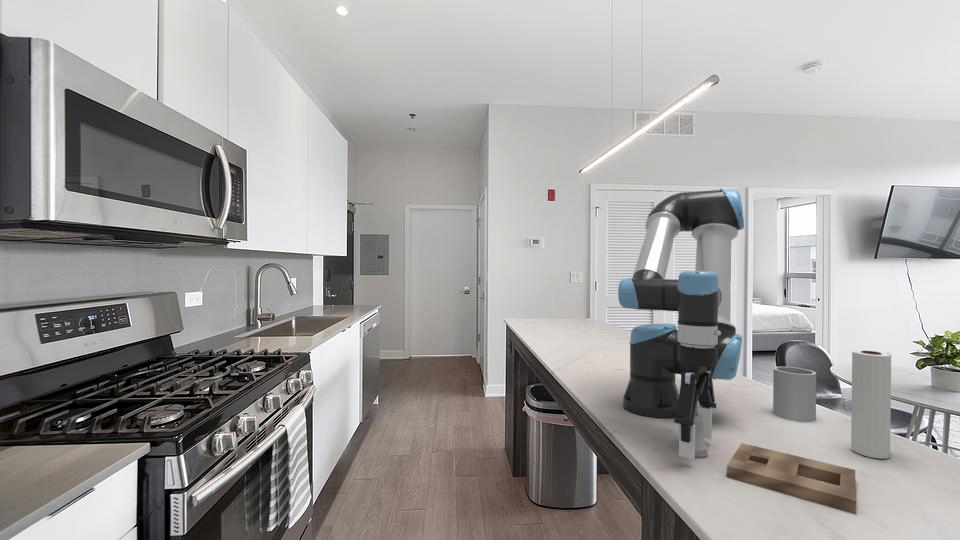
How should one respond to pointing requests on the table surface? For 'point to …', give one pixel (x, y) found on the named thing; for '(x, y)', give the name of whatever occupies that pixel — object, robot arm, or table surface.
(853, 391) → the paper towel roll
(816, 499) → the socket board
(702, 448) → the rook chess piece
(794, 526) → the table surface
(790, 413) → the cup
